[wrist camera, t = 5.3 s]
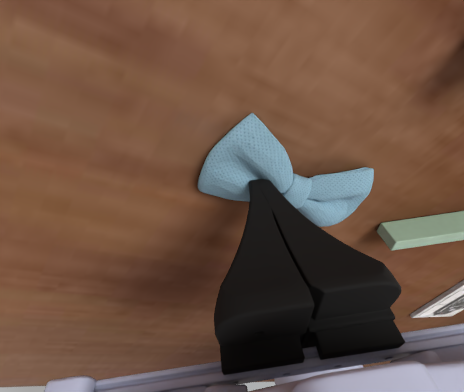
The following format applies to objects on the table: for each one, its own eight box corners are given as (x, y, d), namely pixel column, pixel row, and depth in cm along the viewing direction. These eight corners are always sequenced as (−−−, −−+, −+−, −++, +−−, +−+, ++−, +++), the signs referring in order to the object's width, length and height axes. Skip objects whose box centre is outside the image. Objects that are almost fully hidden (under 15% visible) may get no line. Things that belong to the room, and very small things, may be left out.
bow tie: (401, 188, 13) (338, 243, 15) (383, 170, 14) (328, 225, 17) (232, 115, 9) (190, 204, 12) (228, 100, 10) (191, 185, 13)
